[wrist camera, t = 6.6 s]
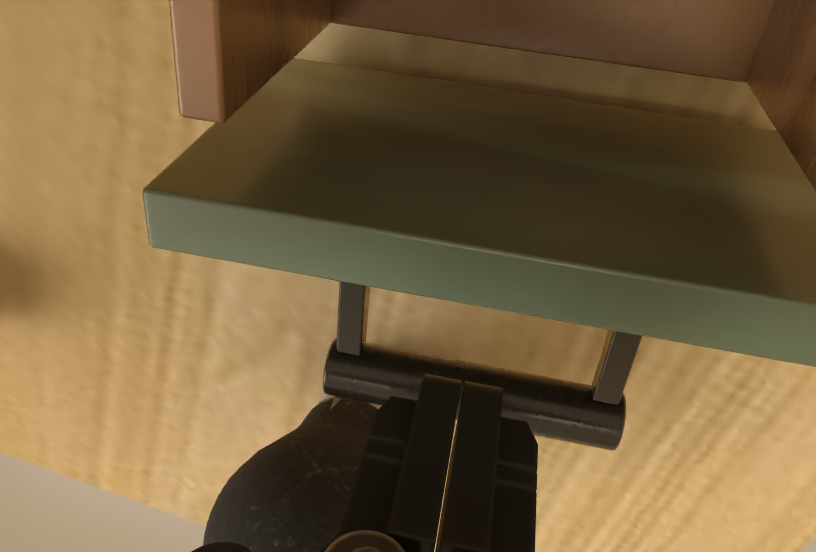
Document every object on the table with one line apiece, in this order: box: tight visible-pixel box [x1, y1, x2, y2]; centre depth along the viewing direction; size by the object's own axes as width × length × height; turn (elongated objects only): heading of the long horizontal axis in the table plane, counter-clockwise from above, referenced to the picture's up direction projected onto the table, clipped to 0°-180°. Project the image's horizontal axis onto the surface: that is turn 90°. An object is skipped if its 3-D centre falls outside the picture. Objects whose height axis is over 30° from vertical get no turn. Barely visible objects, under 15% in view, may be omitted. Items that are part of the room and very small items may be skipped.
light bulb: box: [203, 392, 382, 552], centre depth 21 cm, size 6×6×10 cm
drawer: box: [143, 0, 816, 451], centre depth 14 cm, size 18×12×8 cm
